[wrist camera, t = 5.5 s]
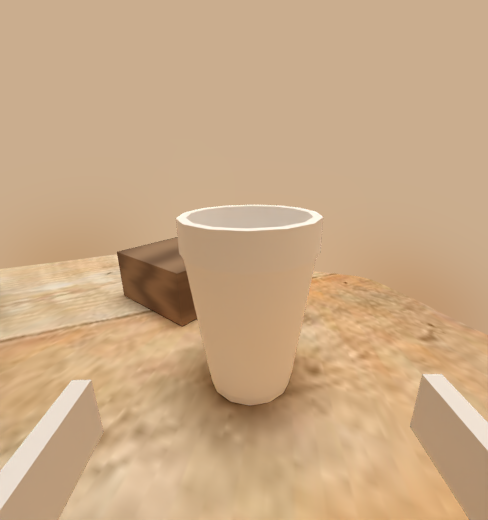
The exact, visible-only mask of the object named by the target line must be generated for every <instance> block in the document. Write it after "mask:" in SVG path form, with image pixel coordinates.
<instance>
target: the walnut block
mask: <svg viewBox="0 0 488 520" xmlns="http://www.w3.org/2000/svg"><path fill="white" fill-rule="evenodd" d="M117 255H118V261H119V266H120V272H121V278H122V284H123V290H124V295H125V296H127V297H128V298H130V299H132V300H134V301H136V302H138V303H140V304H142V305H143V306H145V307H147V308H149V309H151V310H153V311H155V312H156V313H158V314H160V315H162V316H164V317H166V318H168V319H169V320H171V321H173V322H175V323H177V324H179V325H181V326H184V325H186V324H188V323H189V322H191V321H193V320H195V319H197V315H196V311H195V306H194V302H193V298H192V293H191V289H190V285H189V280H188V276H187V272H186V267H185V263H184V259H183V258H182V257H181V255H180V254H179V246H178V237H175V238H172V239H167V240H163V241H159V242H155V243H151V244H148V245H143V246H139V247H135V248H131V249H127V250H123V251H119V252H117Z"/></svg>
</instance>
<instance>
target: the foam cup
mask: <svg viewBox="0 0 488 520" xmlns="http://www.w3.org/2000/svg"><path fill="white" fill-rule="evenodd" d="M176 223H177V234H178V246H179V254H180V255H181V257H182V258H183V259H184V263H185V267H186V272H187V276H188V280H189V285H190V289H191V293H192V298H193V302H194V306H195V311H196V315H197V319H198V324H199V328H200V332H201V337H202V341H203V346H204V350H205V354H206V359H207V363H208V367H209V372H210V375H211V379H212V382H213V384H214V386H215V388H216V391H217V392H218V393H219V394H221V395H222V396H223V397H225V398H226V399H228V400H229V401H230V402H235V403H239V404H244V405H249V406H251V405H257V404H263V403H269V402H270V401H272V400H274V399H275V398H277V397H278V396H280V395H281V394H283V393H284V391H285V389H286V387H287V385H288V383H289V381H290V376H291V373H292V368H293V364H294V359H295V354H296V350H297V345H298V340H299V336H300V331H301V326H302V322H303V317H304V312H305V308H306V303H307V298H308V294H309V289H310V284H311V280H312V275H313V270H314V266H315V261H316V258H317V256H318V255H319V254H320V252H321V239H322V226H323V217H322V216H321V215H320V214H319V213H317V212H316V211H311V210H307V209H303V208H297V207H287V206H277V205H233V206H219V207H210V208H202V209H197V210H194V211H189V212H185V213H183V214H181V215H180V216H179V217H177V218H176Z"/></svg>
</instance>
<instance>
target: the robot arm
mask: <svg viewBox="0 0 488 520" xmlns="http://www.w3.org/2000/svg"><path fill="white" fill-rule="evenodd" d="M410 427H411V429H412V431H413V432H414V434H415V435H416V437H417V438H418V440H419V442H420V443H421V445H422V446H423V448H424V449H425V451H426V452H427V454H428V456H429V457H430V459H431V460H432V462H433V463H434V465H435V467H436V468H437V470H438V471H439V473H440V474H441V476H442V478H443V479H444V481H445V482H446V484H447V485H448V487H449V488H450V490H451V492H452V493H453V495H454V496H455V498H456V499H457V501H458V503H459V504H460V506H461V507H462V509H463V510H464V512H465V514H466V515H467V517H468V518H469V520H488V422H487V421H486V420H485V419H484V418H483V417H482V416H481V415H480V414H479V413H478V412H477V411H476V410H475V409H474V408H473V406H472V405H471V404H470V403H469V402H468V401H467V400H466V399H465V398H464V397H463V396H462V395H461V394H460V393H459V392H458V391H457V390H456V389H455V388H454V386H453V385H452V384H451V383H450V382H449V381H448V380H447V379H446V378H445V377H444V376H443V375H442V374H422V378H421V382H420V386H419V391H418V395H417V399H416V403H415V407H414V412H413V416H412V420H411V424H410ZM103 432H104V431H103V427H102V422H101V418H100V414H99V410H98V406H97V402H96V397H95V393H94V389H93V385H92V381H91V380H72V381H71V382H70V383H69V384H68V386H67V387H66V388H65V390H64V391H63V392H62V393H61V395H60V396H59V397H58V398H57V400H56V401H55V402H54V404H53V405H52V406H51V407H50V409H49V410H48V411H47V412H46V414H45V415H44V416H43V417H42V419H41V420H40V421H39V423H38V424H37V425H36V426H35V428H34V429H33V430H32V431H31V433H30V434H29V435H28V437H27V438H26V439H25V440H24V442H23V443H22V444H21V445H20V447H19V448H18V449H17V451H16V452H15V453H14V454H13V456H12V457H11V458H10V459H9V461H8V462H7V463H6V464H5V466H4V467H3V468H2V470H1V471H0V520H58V519H59V517H60V515H61V513H62V511H63V509H64V507H65V506H66V504H67V502H68V500H69V498H70V496H71V494H72V492H73V490H74V488H75V486H76V484H77V482H78V480H79V478H80V477H81V475H82V473H83V471H84V469H85V467H86V465H87V463H88V461H89V459H90V457H91V455H92V453H93V451H94V449H95V448H96V446H97V444H98V442H99V440H100V438H101V436H102V434H103Z"/></svg>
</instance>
